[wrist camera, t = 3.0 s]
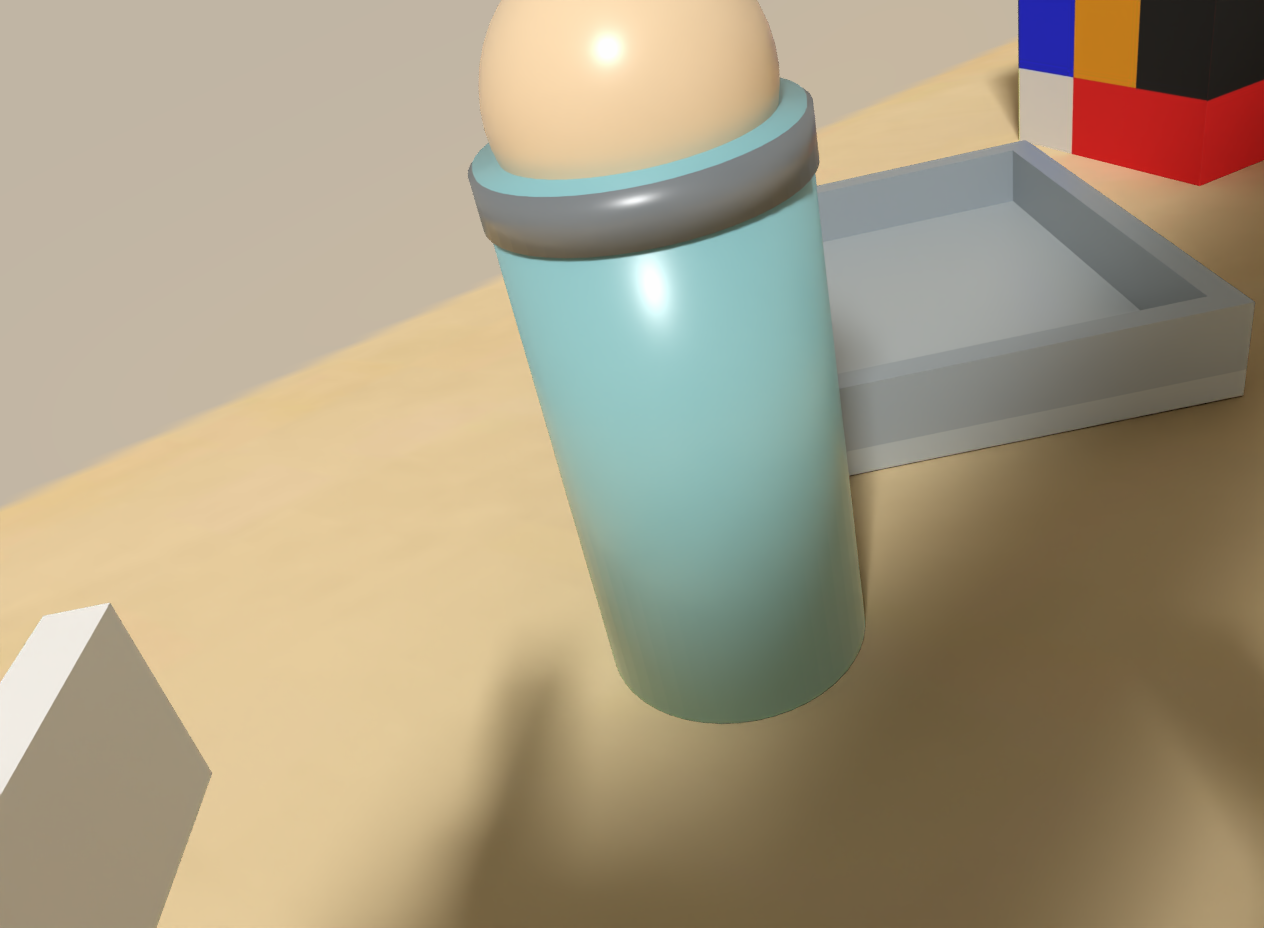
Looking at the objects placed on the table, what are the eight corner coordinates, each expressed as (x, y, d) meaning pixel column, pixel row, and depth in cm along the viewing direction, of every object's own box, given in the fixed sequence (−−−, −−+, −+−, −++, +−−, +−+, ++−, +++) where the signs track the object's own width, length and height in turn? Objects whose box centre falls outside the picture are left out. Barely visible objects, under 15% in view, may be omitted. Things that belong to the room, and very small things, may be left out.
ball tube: (835, 525, 27) (755, -128, 19) (901, 696, 22) (829, -102, 14) (604, 572, 28) (429, -50, 20) (615, 750, 23) (383, 4, 14)
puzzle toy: (1018, 141, 49) (1017, -98, 43) (1185, 80, 51) (1203, -154, 46) (1199, 187, 40) (1225, -101, 35) (1387, 112, 43) (1437, -168, 38)
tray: (1025, 209, 42) (1025, 139, 40) (1243, 395, 29) (1255, 301, 27) (642, 292, 43) (628, 227, 41) (681, 509, 29) (662, 425, 28)
